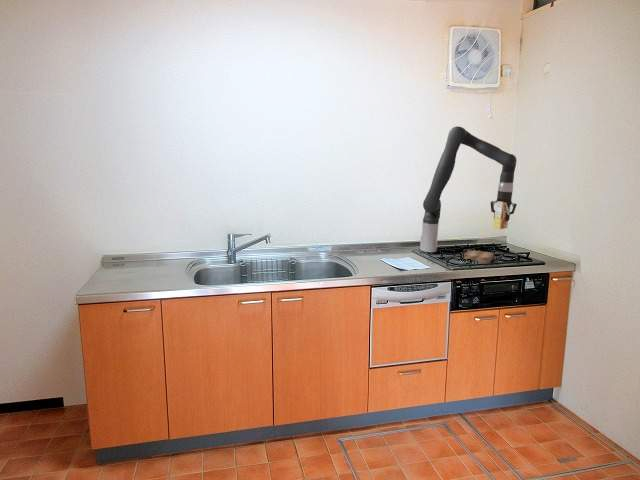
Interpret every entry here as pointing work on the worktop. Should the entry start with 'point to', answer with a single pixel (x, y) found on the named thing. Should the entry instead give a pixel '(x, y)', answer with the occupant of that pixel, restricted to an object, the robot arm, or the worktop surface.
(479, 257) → the walnut base
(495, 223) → the candy box
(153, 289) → the worktop surface
